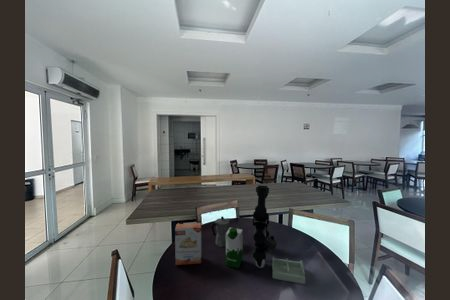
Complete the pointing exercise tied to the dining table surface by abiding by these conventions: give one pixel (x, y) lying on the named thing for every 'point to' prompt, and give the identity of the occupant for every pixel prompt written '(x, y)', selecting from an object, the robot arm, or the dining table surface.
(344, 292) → the dining table surface
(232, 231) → the milk carton
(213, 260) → the dining table surface
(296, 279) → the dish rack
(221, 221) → the coffeepot
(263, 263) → the jar
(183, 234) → the cracker box
